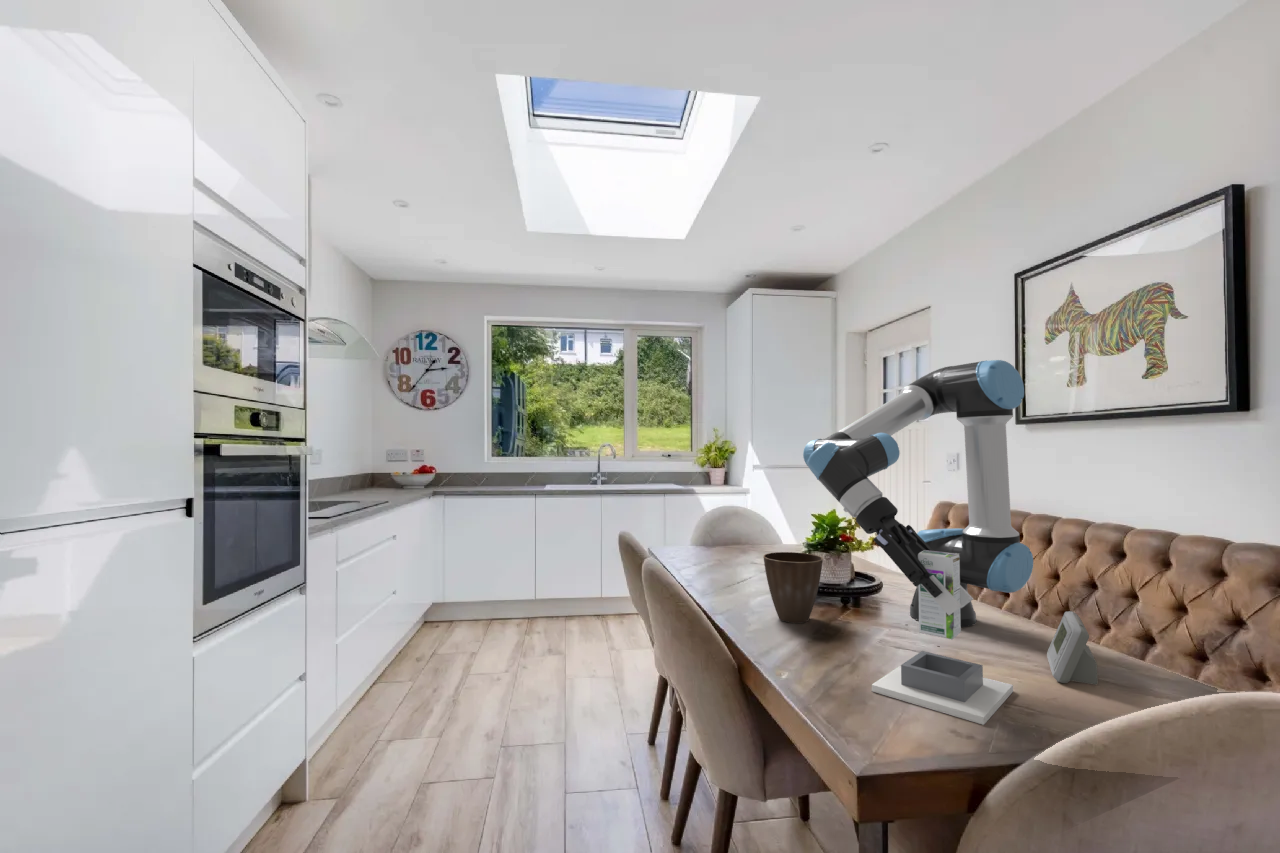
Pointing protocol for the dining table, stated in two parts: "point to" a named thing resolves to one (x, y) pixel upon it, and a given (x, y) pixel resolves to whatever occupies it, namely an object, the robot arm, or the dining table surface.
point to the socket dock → (945, 686)
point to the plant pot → (793, 583)
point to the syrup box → (930, 611)
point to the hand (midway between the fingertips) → (961, 606)
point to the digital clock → (1072, 652)
